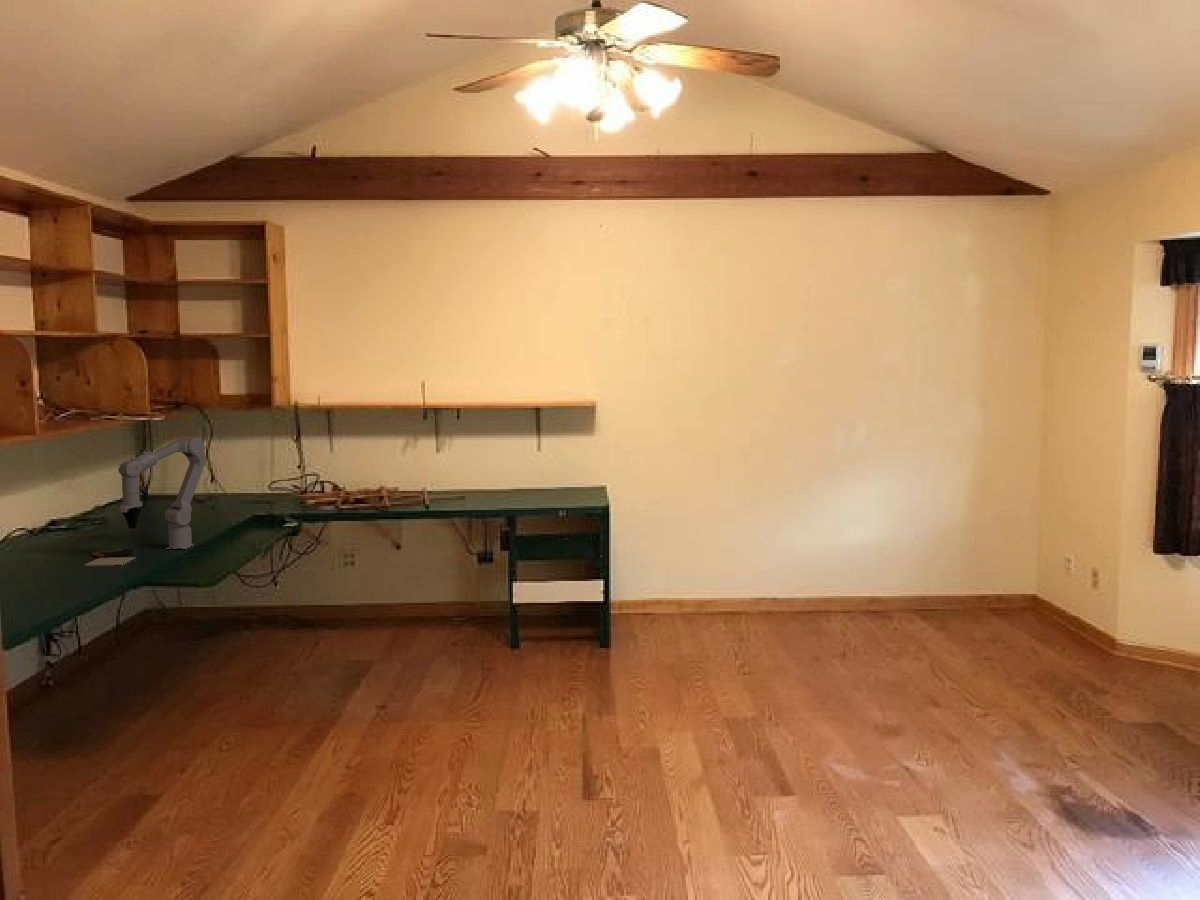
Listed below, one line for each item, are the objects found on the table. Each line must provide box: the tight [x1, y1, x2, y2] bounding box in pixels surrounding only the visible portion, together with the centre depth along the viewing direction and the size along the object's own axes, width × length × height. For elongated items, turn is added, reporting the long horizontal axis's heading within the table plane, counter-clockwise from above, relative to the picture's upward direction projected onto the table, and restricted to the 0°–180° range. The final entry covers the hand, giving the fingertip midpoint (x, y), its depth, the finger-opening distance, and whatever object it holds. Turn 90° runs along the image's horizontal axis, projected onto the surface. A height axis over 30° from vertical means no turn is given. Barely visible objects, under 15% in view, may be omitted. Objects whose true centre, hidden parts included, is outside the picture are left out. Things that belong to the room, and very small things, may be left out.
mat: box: [84, 556, 137, 567], centre depth 350 cm, size 12×13×1 cm
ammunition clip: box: [91, 548, 134, 558], centre depth 363 cm, size 11×2×12 cm
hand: (132, 528), depth 362 cm, fingers closed
